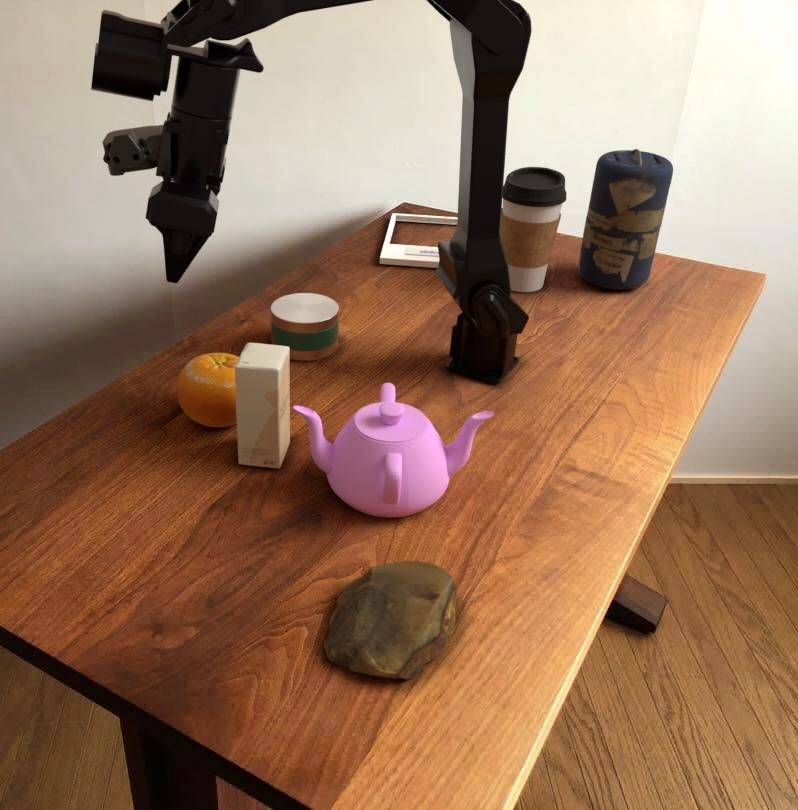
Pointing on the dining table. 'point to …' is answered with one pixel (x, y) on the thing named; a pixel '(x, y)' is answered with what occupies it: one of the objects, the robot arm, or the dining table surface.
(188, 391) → the fruit
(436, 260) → the photo frame
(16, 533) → the dining table surface
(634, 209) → the canister
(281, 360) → the box
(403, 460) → the teapot
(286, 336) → the tin can
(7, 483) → the dining table surface
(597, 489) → the dining table surface
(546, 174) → the coffee cup
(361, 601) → the decorative stone
